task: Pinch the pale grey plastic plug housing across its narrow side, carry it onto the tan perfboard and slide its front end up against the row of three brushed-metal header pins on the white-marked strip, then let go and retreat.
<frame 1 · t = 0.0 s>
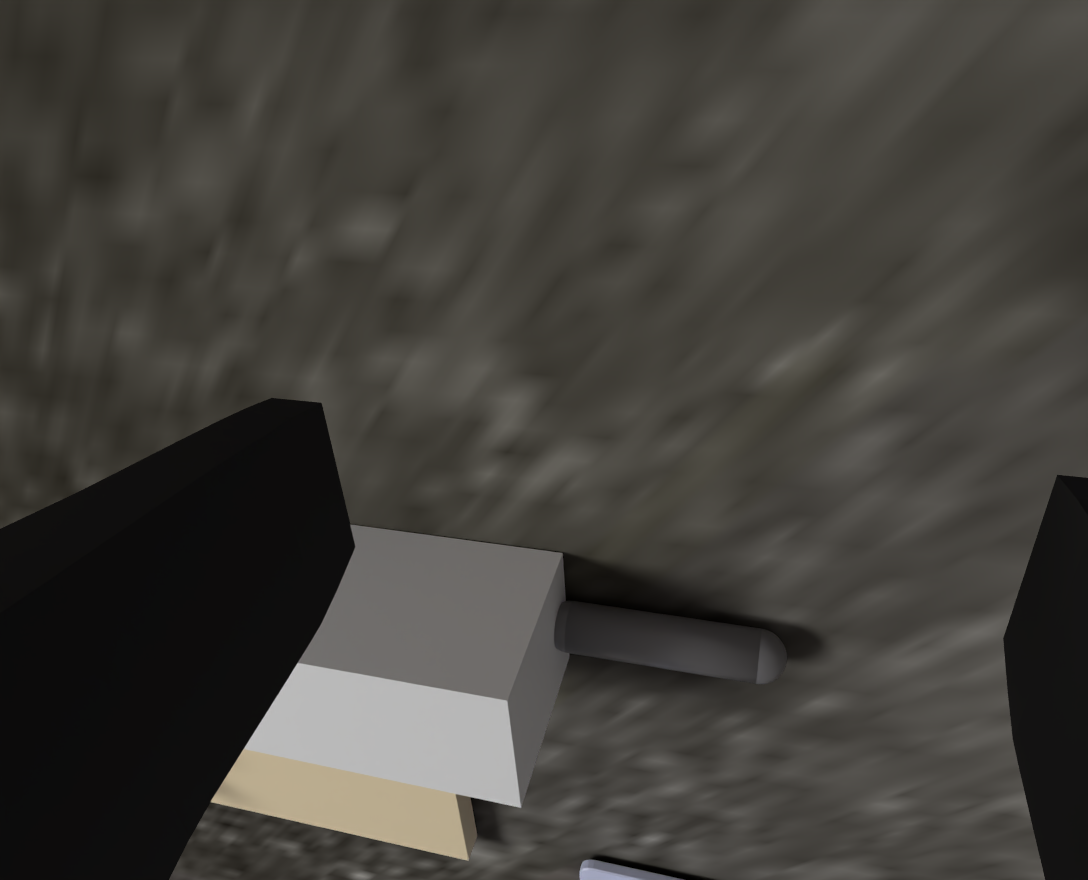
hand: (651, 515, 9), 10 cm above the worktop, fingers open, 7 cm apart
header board: (256, 718, 32), on the worktop
plug housing: (432, 587, 26), on the worktop
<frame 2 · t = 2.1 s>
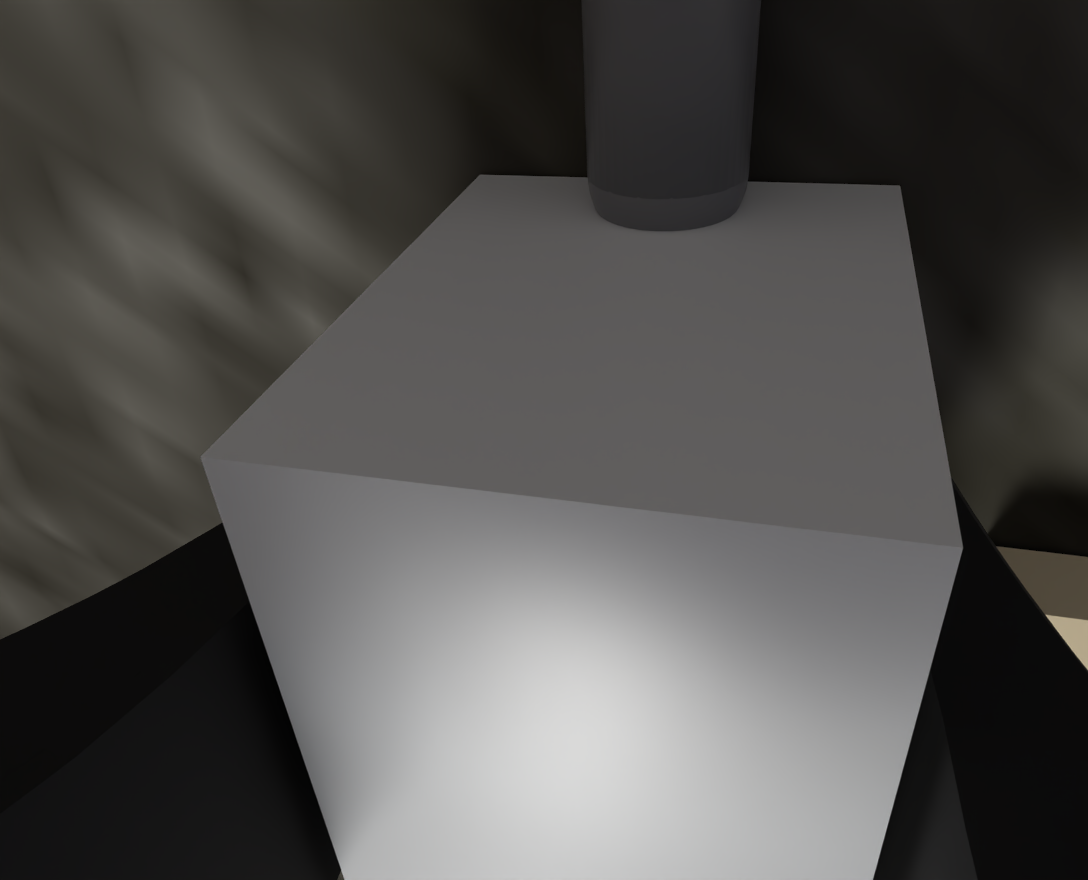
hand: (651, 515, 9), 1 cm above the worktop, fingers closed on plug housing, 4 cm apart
plug housing: (669, 507, 11), on the worktop, touching gripper
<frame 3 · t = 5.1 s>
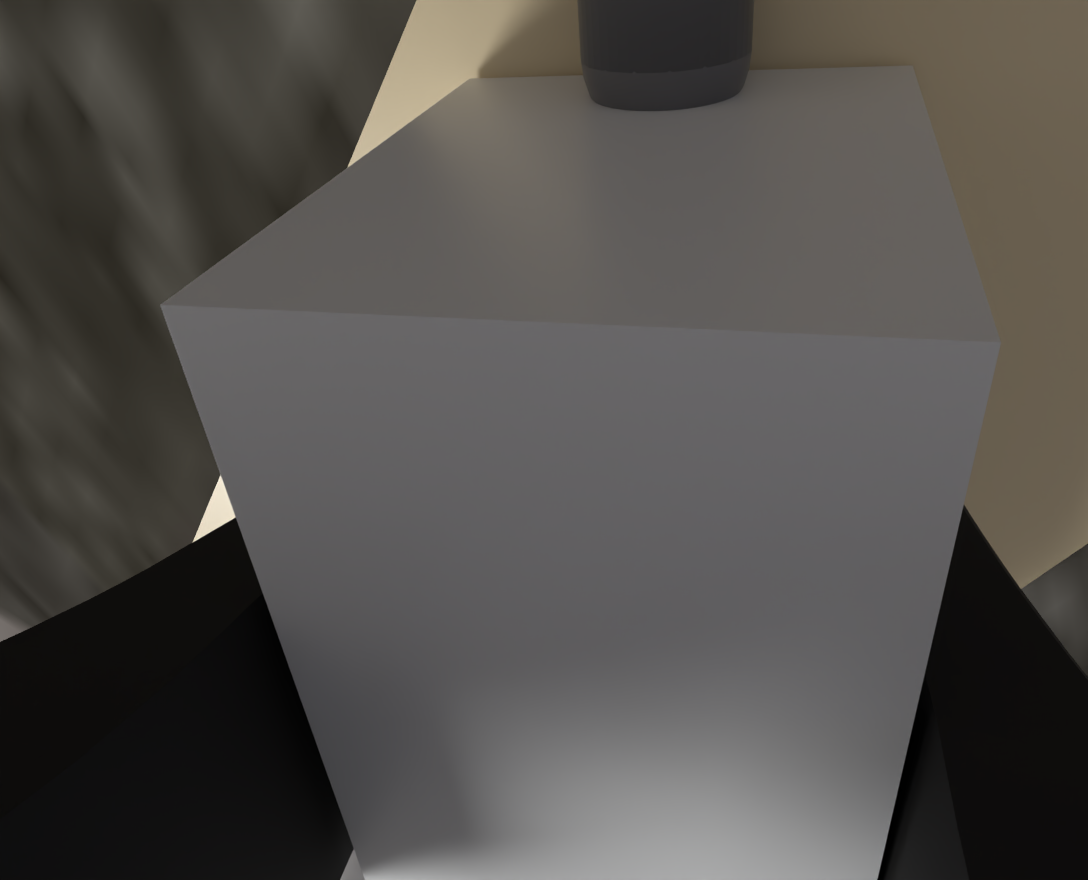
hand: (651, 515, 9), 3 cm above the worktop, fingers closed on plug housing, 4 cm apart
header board: (649, 415, 11), on the worktop
plug housing: (676, 436, 10), point 1 cm above the worktop, touching gripper, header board
when the fingers open (3 cm above the worktop, at t = 5.2 s): plug housing stays where it is, resting on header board.
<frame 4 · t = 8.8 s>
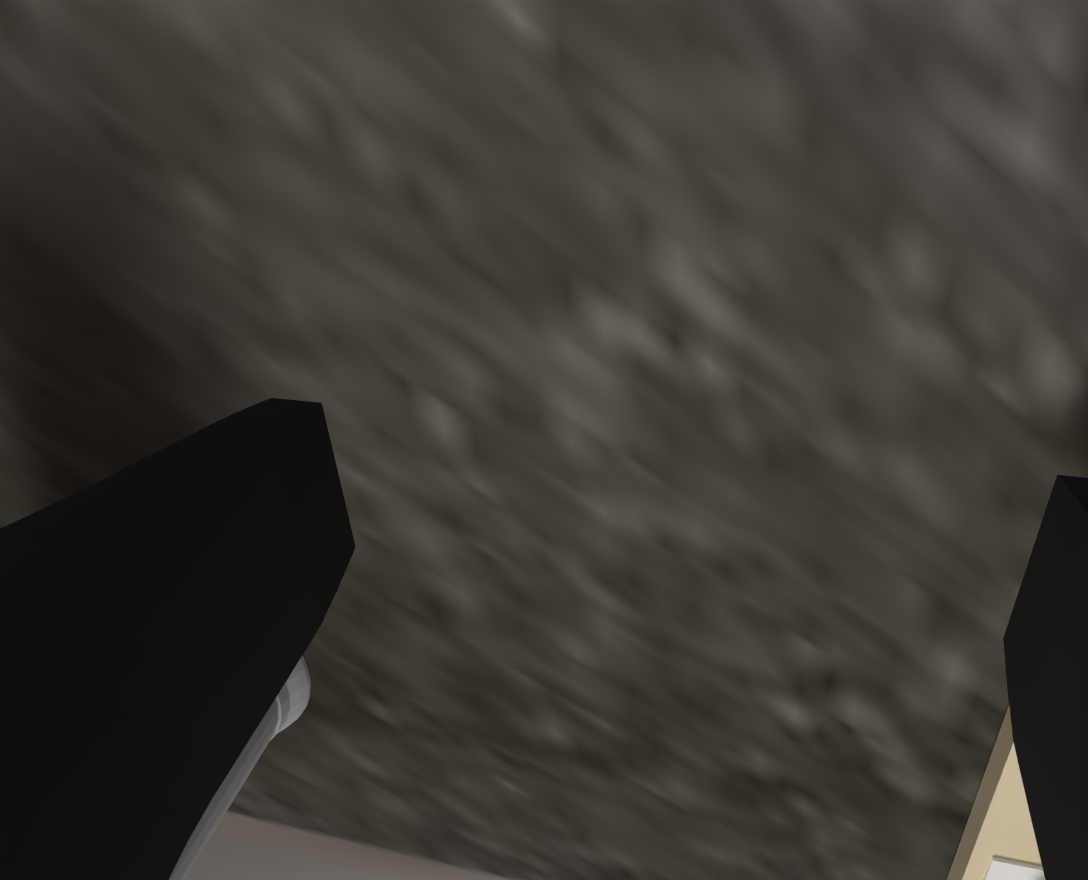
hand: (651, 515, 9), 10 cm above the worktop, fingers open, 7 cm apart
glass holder: (126, 622, 31), on the worktop
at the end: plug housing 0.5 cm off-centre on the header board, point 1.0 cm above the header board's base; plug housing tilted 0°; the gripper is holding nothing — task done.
